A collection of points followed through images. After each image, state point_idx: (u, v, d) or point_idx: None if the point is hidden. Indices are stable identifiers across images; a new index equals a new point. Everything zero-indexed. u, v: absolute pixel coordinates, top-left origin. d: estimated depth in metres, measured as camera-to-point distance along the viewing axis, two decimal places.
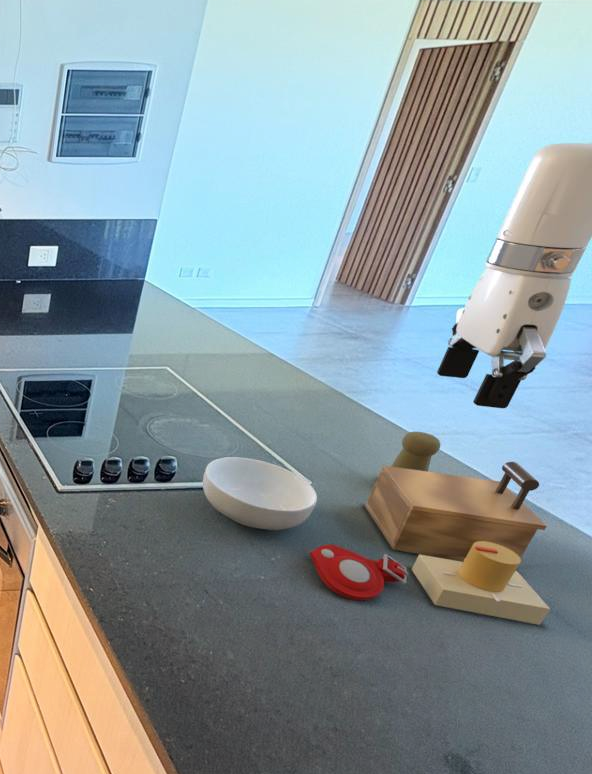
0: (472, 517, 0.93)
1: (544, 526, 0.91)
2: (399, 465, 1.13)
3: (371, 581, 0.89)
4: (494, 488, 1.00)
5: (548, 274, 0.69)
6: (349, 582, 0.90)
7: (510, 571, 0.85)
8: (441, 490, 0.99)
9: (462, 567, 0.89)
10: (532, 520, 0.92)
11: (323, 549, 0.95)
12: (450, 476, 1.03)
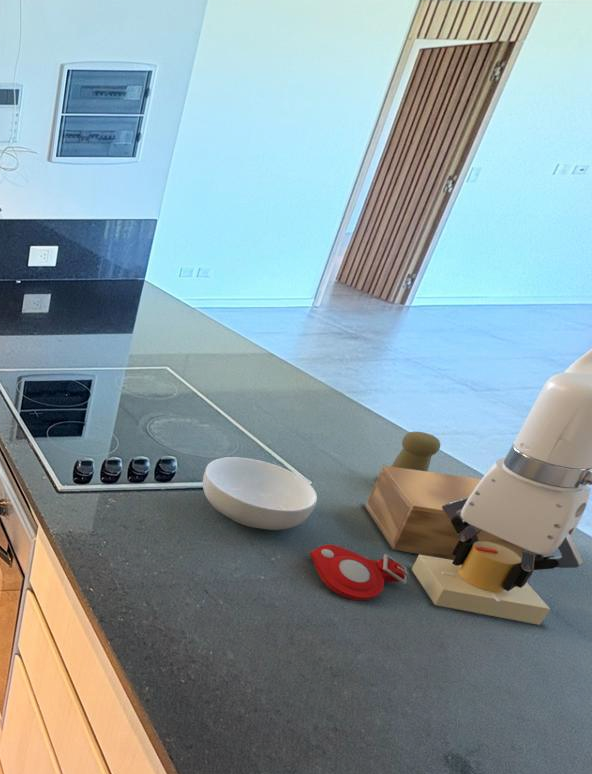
0: None
1: None
2: (399, 465, 1.13)
3: (371, 581, 0.89)
4: None
5: (580, 486, 0.78)
6: (349, 582, 0.90)
7: (510, 571, 0.85)
8: (441, 490, 0.99)
9: (462, 567, 0.89)
10: None
11: (323, 549, 0.95)
12: (450, 476, 1.03)
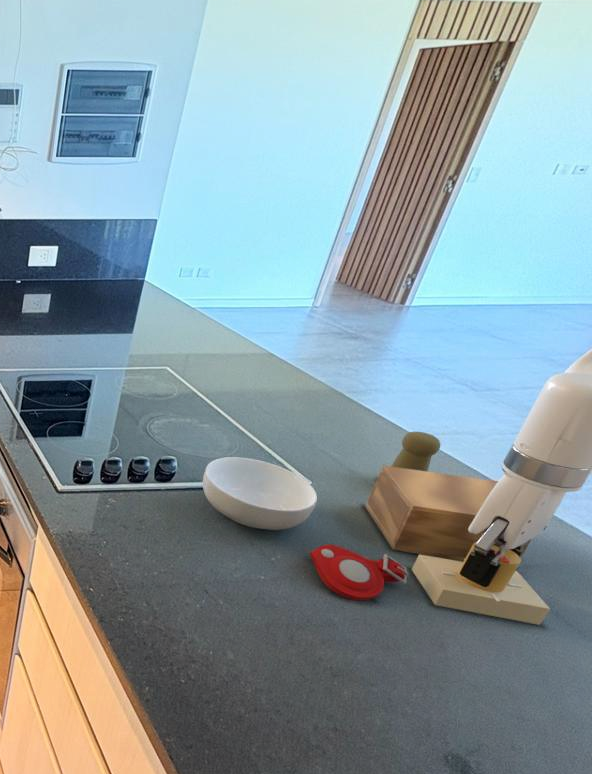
0: (472, 517, 0.93)
1: None
2: (399, 465, 1.13)
3: (371, 581, 0.89)
4: None
5: None
6: (349, 582, 0.90)
7: None
8: (441, 490, 0.99)
9: None
10: None
11: (323, 549, 0.95)
12: (450, 476, 1.03)
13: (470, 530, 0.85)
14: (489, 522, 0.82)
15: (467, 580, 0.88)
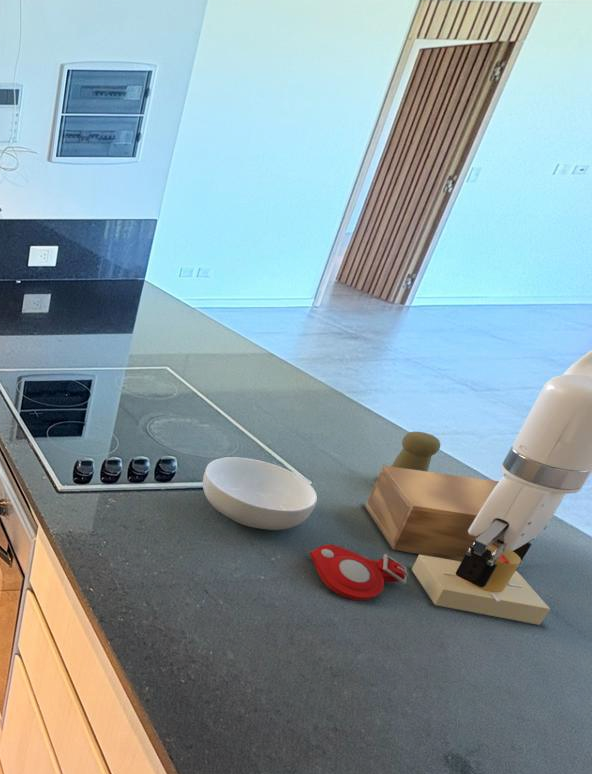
0: (472, 517, 0.93)
1: None
2: (399, 465, 1.13)
3: (371, 581, 0.89)
4: None
5: None
6: (349, 582, 0.90)
7: None
8: (441, 490, 0.99)
9: (489, 583, 0.86)
10: None
11: (323, 549, 0.95)
12: (450, 476, 1.03)
13: (470, 532, 0.85)
14: (489, 524, 0.82)
15: None
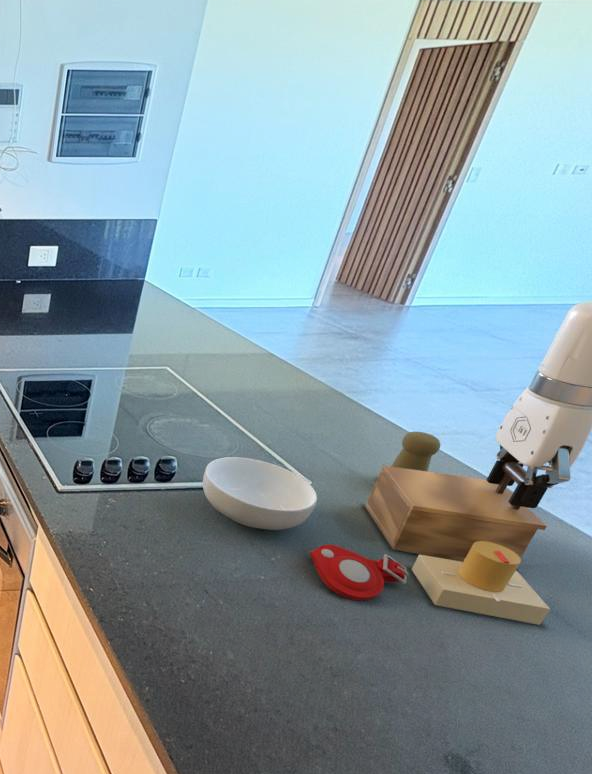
0: (472, 517, 0.93)
1: (544, 526, 0.91)
2: (399, 465, 1.13)
3: (371, 581, 0.89)
4: (494, 488, 1.00)
5: None
6: (349, 582, 0.90)
7: None
8: (441, 490, 0.99)
9: (489, 583, 0.86)
10: (532, 520, 0.92)
11: (323, 549, 0.95)
12: (450, 476, 1.03)
13: (533, 464, 0.89)
14: (554, 453, 0.87)
15: (467, 580, 0.88)
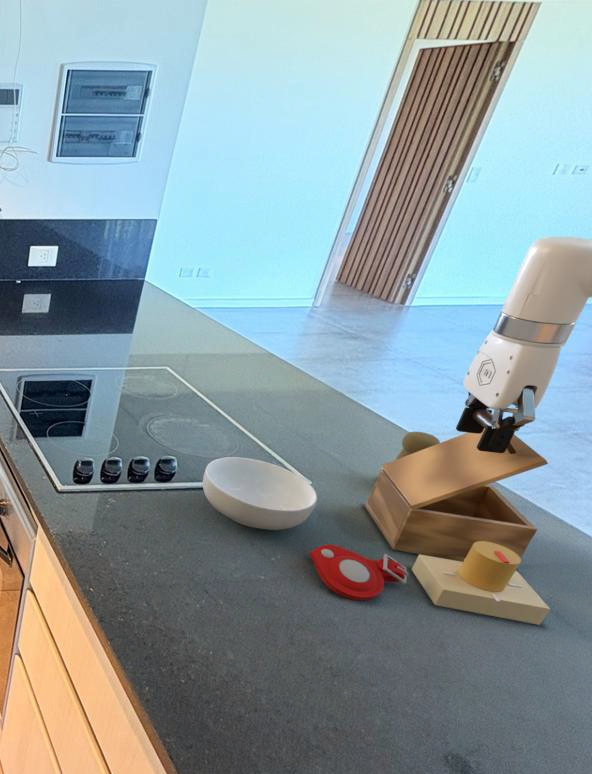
0: (472, 488, 0.92)
1: (544, 461, 0.87)
2: None
3: (371, 581, 0.89)
4: None
5: None
6: (349, 582, 0.90)
7: None
8: (438, 468, 0.98)
9: (489, 583, 0.86)
10: (530, 460, 0.89)
11: (323, 549, 0.95)
12: (446, 443, 1.01)
13: (498, 407, 0.87)
14: (519, 393, 0.86)
15: (467, 580, 0.88)
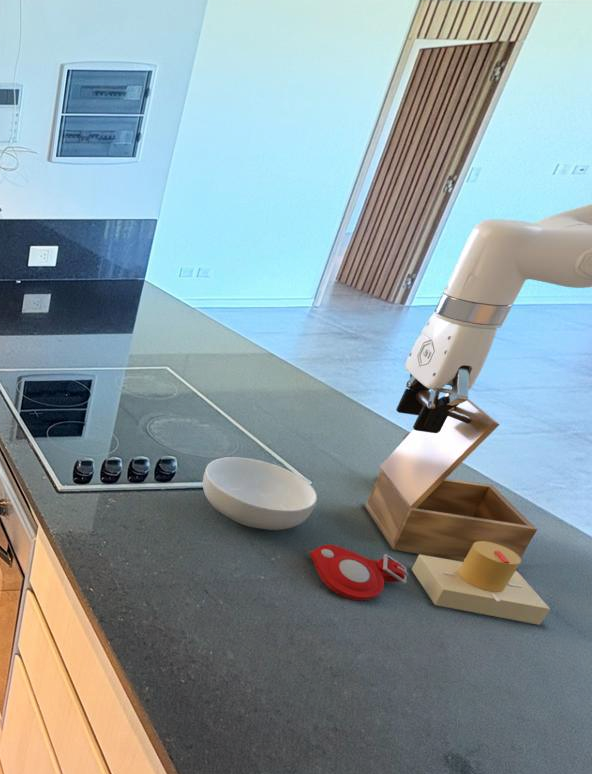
0: (450, 470, 0.92)
1: (493, 424, 0.87)
2: None
3: (371, 581, 0.89)
4: None
5: None
6: (349, 582, 0.90)
7: None
8: (420, 456, 0.98)
9: (489, 583, 0.86)
10: (483, 426, 0.89)
11: (323, 549, 0.95)
12: None
13: (435, 386, 0.89)
14: (454, 373, 0.87)
15: (467, 580, 0.88)
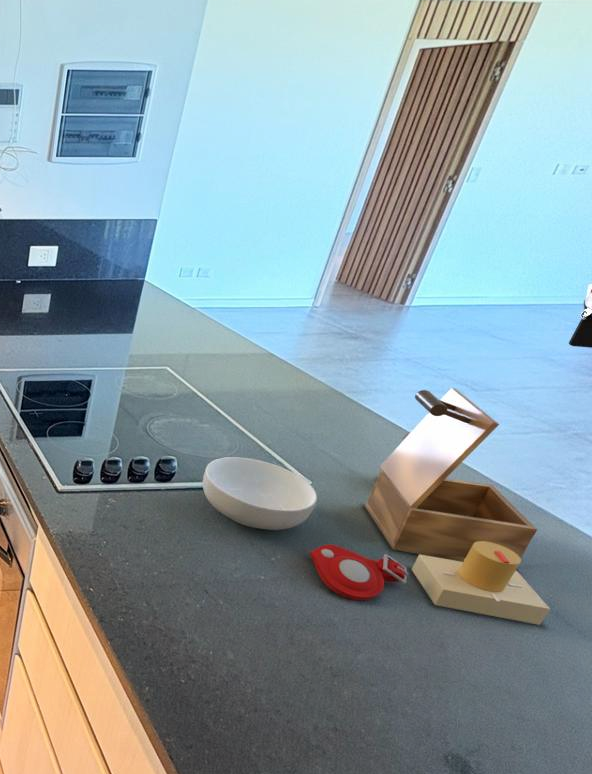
0: (450, 470, 0.92)
1: (493, 424, 0.87)
2: None
3: (371, 581, 0.89)
4: (450, 404, 0.97)
5: None
6: (349, 582, 0.90)
7: None
8: (420, 456, 0.98)
9: (489, 583, 0.86)
10: (483, 426, 0.89)
11: (323, 549, 0.95)
12: (420, 424, 1.01)
13: None
14: None
15: (467, 580, 0.88)
